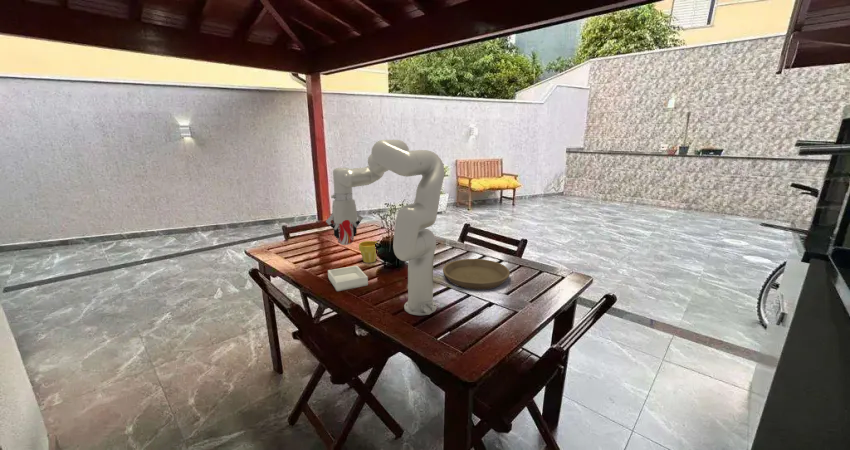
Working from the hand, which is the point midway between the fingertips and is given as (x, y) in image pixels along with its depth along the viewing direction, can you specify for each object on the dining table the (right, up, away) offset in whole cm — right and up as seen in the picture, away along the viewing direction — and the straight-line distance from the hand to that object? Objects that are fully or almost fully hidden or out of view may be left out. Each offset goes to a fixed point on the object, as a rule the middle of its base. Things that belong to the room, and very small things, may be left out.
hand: (345, 236), depth 155 cm
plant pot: (+5, -14, +32) cm, 36 cm away
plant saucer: (+59, -20, +11) cm, 63 cm away
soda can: (0, -3, +1) cm, 3 cm away
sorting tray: (0, -21, +5) cm, 22 cm away
